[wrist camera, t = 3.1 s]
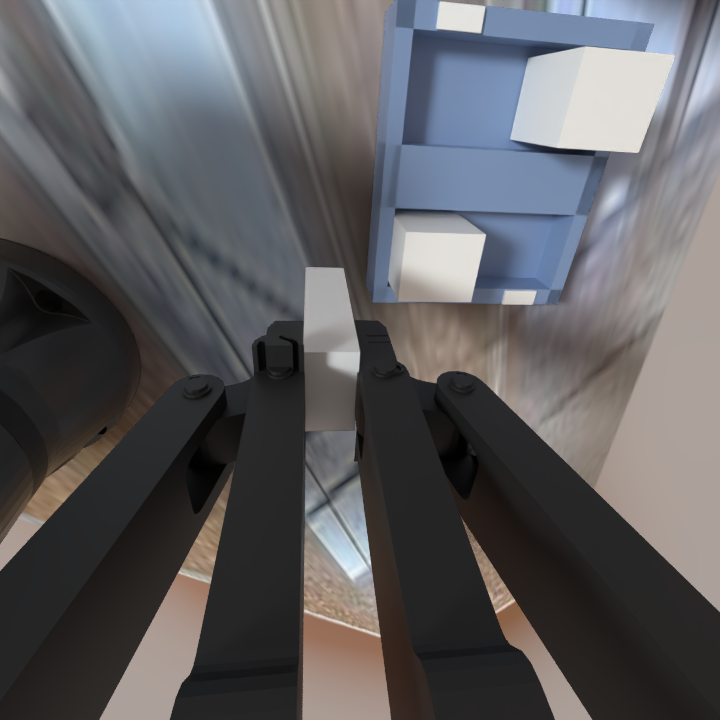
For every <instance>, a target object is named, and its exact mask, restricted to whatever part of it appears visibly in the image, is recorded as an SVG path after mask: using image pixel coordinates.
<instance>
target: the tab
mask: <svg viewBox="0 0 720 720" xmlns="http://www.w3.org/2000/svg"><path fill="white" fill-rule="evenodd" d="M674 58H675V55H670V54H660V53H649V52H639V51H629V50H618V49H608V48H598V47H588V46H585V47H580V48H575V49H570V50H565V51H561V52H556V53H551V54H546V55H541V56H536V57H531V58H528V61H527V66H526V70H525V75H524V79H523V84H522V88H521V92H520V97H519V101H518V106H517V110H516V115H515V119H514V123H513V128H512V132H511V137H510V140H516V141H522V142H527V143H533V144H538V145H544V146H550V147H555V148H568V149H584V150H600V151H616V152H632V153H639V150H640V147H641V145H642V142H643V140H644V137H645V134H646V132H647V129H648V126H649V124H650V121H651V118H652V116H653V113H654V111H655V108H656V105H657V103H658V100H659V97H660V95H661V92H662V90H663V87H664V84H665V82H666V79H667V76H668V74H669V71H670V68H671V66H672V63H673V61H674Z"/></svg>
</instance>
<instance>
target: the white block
mask: <svg viewBox="0 0 720 720" xmlns="http://www.w3.org/2000/svg"><path fill="white" fill-rule="evenodd" d="M485 237H486V234H485V233H483V232H482V231H481V230H479V229H478V228H476V227H475V226H474V225H472V224H471V223H470V222H468V221H467V220H466V219H464V218H463V217H461V216H460V215H459V214H457V213H456V212H452V211H427V210H402V209H395V216H394V225H393V235H392V245H391V255H390V265H389V274H388V281H389V283H390V286H391V288H392V290H393V292H394V294H395V296H396V299H397V301H398V302H471V300H472V296H473V291H474V287H475V282H476V278H477V273H478V269H479V264H480V260H481V255H482V251H483V246H484V242H485Z"/></svg>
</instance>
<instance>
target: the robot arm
mask: <svg viewBox="0 0 720 720" xmlns="http://www.w3.org/2000/svg"><path fill="white" fill-rule="evenodd" d="M252 352H253V363H254V376H253V377H252V378H251V379H249V380H247V381H245V382H242V383H239V384H235V385H230V386H224V383H223V381H222V380H221V379H219V378H218V377H216V376H212V375H193V376H188V377H186V378H183V379H181V380H179V381H177V382H176V383H175V384H173V385H172V386H171V387H170V388H169V389H168V390H167V391H166V392H165V393H164V395H163V396H162V397H161V398H160V399H159V400H158V401H157V402H156V403H155V404H154V405H153V406H152V408H151V409H150V410H149V411H148V412H147V413H146V414H145V415H144V416H143V417H142V418H141V419H140V420H139V422H138V423H137V424H136V425H135V426H134V427H133V428H132V429H131V430H130V431H129V432H128V433H127V435H126V436H125V437H124V438H123V439H122V440H121V441H120V442H119V443H118V444H117V445H116V446H115V448H114V449H113V450H112V451H111V452H110V453H109V454H108V455H107V456H106V457H105V458H104V459H103V460H102V462H101V463H100V464H99V465H98V466H97V467H96V468H95V469H94V470H93V471H92V472H91V473H90V475H89V476H88V477H87V478H86V479H85V480H84V481H83V482H82V483H81V484H80V485H79V486H78V488H77V489H76V490H75V491H74V492H73V493H72V494H71V495H70V496H69V497H68V498H67V499H66V501H65V502H64V503H63V504H62V505H61V506H60V507H59V508H58V509H57V510H56V511H55V512H54V513H53V515H52V516H51V517H50V518H49V519H48V520H47V521H46V522H45V523H44V524H43V525H42V526H41V528H40V529H39V530H38V531H37V532H36V533H35V534H34V535H33V536H32V537H31V538H30V539H29V541H28V542H27V543H26V544H25V545H24V546H23V547H22V548H21V549H20V550H19V551H18V552H17V553H16V555H15V556H14V557H13V558H12V559H11V560H10V561H9V562H8V563H7V564H6V565H5V567H4V568H3V569H2V570H1V571H0V720H99V719H100V717H101V715H102V713H103V711H104V710H105V708H106V706H107V704H108V702H109V700H110V699H111V697H112V695H113V693H114V691H115V689H116V687H117V685H118V684H119V682H120V680H121V678H122V676H123V674H124V672H125V670H126V669H127V667H128V665H129V663H130V661H131V659H132V657H133V656H134V653H135V652H136V650H137V648H138V646H139V644H140V642H141V641H142V639H143V637H144V635H145V633H146V631H147V629H148V627H149V626H150V624H151V622H152V620H153V618H154V616H155V614H156V613H157V611H158V609H159V607H160V605H161V603H162V601H163V600H164V597H165V596H166V594H167V592H168V590H169V588H170V586H171V585H172V583H173V581H174V579H175V577H176V575H177V573H178V572H179V570H180V568H181V566H182V564H183V562H184V560H185V558H186V557H187V555H188V553H189V551H190V549H191V547H192V545H193V543H194V542H195V540H196V538H197V536H198V534H199V532H200V530H201V529H202V527H203V525H204V523H205V521H206V519H207V517H208V515H209V514H210V512H211V510H212V508H213V506H214V504H215V502H216V501H217V499H218V497H219V495H220V493H221V491H222V489H223V487H224V486H225V484H226V482H227V480H228V478H229V476H230V474H231V473H232V471H233V469H234V465H235V469H234V473H233V478H232V483H231V488H230V493H229V498H228V503H227V507H226V512H225V517H224V522H223V527H222V532H221V537H220V541H219V546H218V551H217V556H216V561H215V566H214V571H213V575H212V580H211V585H210V590H209V595H208V600H207V605H206V609H205V615H204V619H203V624H202V629H201V634H200V639H199V644H198V648H197V653H196V658H195V661H194V666H193V668H192V671H191V673H190V675H189V676H188V677H187V678H186V679H185V681H184V682H183V683H182V685H181V687H180V689H179V691H178V694H177V696H176V699H175V703H174V706H173V710H172V714H171V718H170V720H302V698H303V697H302V696H303V695H302V694H303V615H304V529H305V431H346V430H355V420H356V427H357V431H356V445H355V458H354V461H358V464H359V472H360V480H361V488H362V495H363V503H364V511H365V519H366V526H367V534H368V542H369V550H370V557H371V565H372V573H373V581H374V588H375V596H376V604H377V612H378V619H379V627H380V635H381V642H382V650H383V658H384V666H385V674H386V681H387V689H388V697H389V705H390V713H391V720H555V719H554V716H553V713H552V711H551V708H550V706H549V704H548V701H547V698H546V696H545V693H544V691H543V688H542V686H541V683H540V681H539V679H538V677H537V675H536V672H535V670H534V668H533V666H532V664H531V662H530V661H529V660H528V659H527V657H526V656H525V655H524V653H523V652H522V651H521V650H519V649H517V648H515V647H513V646H512V645H510V644H509V643H508V641H507V640H506V639H505V637H504V634H503V632H502V630H501V628H500V625H499V622H498V619H497V616H496V614H495V611H494V608H493V605H492V602H491V600H490V597H489V594H488V591H487V589H486V586H485V583H484V580H483V577H482V575H481V572H480V569H479V566H478V564H477V561H476V558H475V555H474V553H473V550H472V547H471V544H470V541H469V539H468V536H467V533H466V530H465V528H464V525H463V522H462V519H463V520H464V522H465V523H466V525H467V526H468V528H469V529H470V531H471V532H472V534H473V536H474V537H475V539H476V540H477V542H478V543H479V545H480V546H481V548H482V550H483V551H484V553H485V554H486V556H487V557H488V559H489V560H490V562H491V563H492V565H493V567H494V568H495V570H496V571H497V573H498V574H499V576H500V577H501V579H502V580H503V582H504V584H505V585H506V587H507V588H508V590H509V591H510V593H511V594H512V596H513V597H514V599H515V601H516V602H517V604H518V605H519V607H520V608H521V610H522V611H523V613H524V615H525V616H526V618H527V619H528V621H529V622H530V624H531V625H532V627H533V628H534V630H535V631H536V633H537V635H538V636H539V638H540V639H541V641H542V642H543V644H544V645H545V647H546V649H547V650H548V652H549V653H550V655H551V656H552V658H553V659H554V661H555V662H556V664H557V666H558V667H559V669H560V670H561V672H562V673H563V675H564V676H565V678H566V679H567V681H568V683H569V684H570V685H571V687H572V689H573V690H574V692H575V693H576V695H577V696H578V698H579V700H580V701H581V703H582V704H583V706H584V707H585V709H586V710H587V712H588V714H589V715H590V717H591V718H592V720H720V612H719V611H718V610H717V609H716V608H715V607H714V606H713V605H712V604H711V603H710V602H709V601H708V600H707V599H706V598H705V597H703V596H702V594H701V593H699V592H698V591H697V590H696V589H695V588H694V587H693V586H692V585H691V584H690V583H689V582H688V581H687V580H686V579H685V578H684V577H683V576H682V575H681V574H680V573H679V572H678V571H677V570H676V569H675V568H674V567H673V566H672V565H671V564H670V563H668V561H667V560H665V559H664V557H662V556H661V555H660V554H659V553H658V552H657V551H656V550H655V549H654V548H653V547H652V546H651V545H650V544H649V543H648V542H647V541H646V540H645V539H644V538H643V537H642V536H641V535H640V534H639V533H638V532H637V531H636V530H635V529H634V528H633V527H632V526H631V525H630V524H629V523H628V522H626V521H625V520H624V519H623V518H622V517H621V516H620V515H619V514H618V513H617V512H616V511H615V510H614V509H613V508H612V507H611V506H610V505H609V504H608V503H607V502H606V501H605V500H604V499H603V498H602V497H601V496H600V495H599V494H598V493H597V492H596V491H595V490H594V489H593V488H592V487H591V486H590V485H589V484H587V483H586V482H585V481H584V480H583V479H582V478H581V477H580V476H579V475H578V474H577V473H576V472H575V471H574V470H573V469H572V468H571V467H570V466H569V465H568V464H567V463H566V462H565V461H564V460H563V459H562V458H561V457H560V456H559V455H558V454H557V453H556V452H555V451H554V450H553V449H552V448H550V447H549V446H548V445H547V444H546V443H545V442H544V441H543V440H542V439H541V438H540V437H539V436H538V435H537V434H536V433H535V432H534V431H533V430H532V429H531V428H530V427H529V426H528V425H527V424H526V423H525V422H524V421H523V420H522V419H521V418H520V417H519V416H518V415H517V414H516V413H515V412H514V411H512V410H511V409H510V408H509V407H508V406H507V405H506V404H505V403H504V402H503V401H502V400H501V399H500V398H499V397H498V396H497V395H496V394H495V393H494V392H493V391H492V390H491V389H490V388H489V387H488V386H487V385H486V384H485V383H484V382H483V381H481V380H480V379H479V378H477V377H476V376H473V375H471V374H468V373H465V372H460V371H451V372H446V373H443V374H441V375H440V376H439V377H438V379H437V384H436V383H430V382H425V381H421V380H417V379H414V378H412V377H410V375H409V372H408V370H407V369H406V367H405V366H404V365H402V364H401V363H399V362H397V359H396V356H395V353H394V350H393V347H392V344H391V341H390V338H389V337H388V332H387V329H386V327H385V326H383V325H382V324H381V323H380V322H379V321H364V320H354V319H353V314H352V309H351V304H350V299H349V294H348V289H347V284H346V279H345V274H344V269H343V268H323V267H306V273H305V305H304V321H275V322H274V323H273V324H271V325H270V326H269V327H268V330H267V335H265V336H262V337H260V338H258V339H257V340H255V341H254V343H253V344H252ZM140 371H141V367H140V356H139V352H138V348H137V345H136V342H135V339H134V337H133V334H132V332H131V330H130V328H129V327H128V325H127V323H126V322H125V320H124V318H123V317H122V316H121V314H120V313H119V311H118V310H117V309H116V308H115V306H114V305H113V304H112V303H111V302H110V301H109V300H108V298H107V297H106V296H105V295H104V294H103V293H102V292H101V291H99V290H98V289H97V288H96V287H95V286H94V285H93V284H91V283H90V282H89V281H88V280H86V279H85V278H84V277H82V276H81V275H80V274H78V273H77V272H75V271H74V270H72V269H71V268H69V267H68V266H66V265H64V264H63V263H61V262H59V261H57V260H55V259H53V258H51V257H49V256H47V255H45V254H43V253H41V252H38V251H36V250H34V249H31V248H28V247H26V246H23V245H20V244H17V243H13V242H10V241H6V240H2V239H0V543H1V542H2V541H3V539H4V538H5V536H6V535H7V533H8V532H9V530H10V529H11V527H12V526H13V525H14V523H15V521H16V520H17V519H18V517H19V516H20V514H21V513H22V511H23V510H24V509H25V507H26V506H27V504H28V502H29V501H30V499H31V498H32V497H33V495H34V494H35V492H36V491H37V490H38V488H39V487H40V485H41V484H42V482H43V481H44V480H45V479H46V478H47V477H48V476H50V475H51V474H52V473H54V472H55V471H57V470H58V469H59V468H61V467H62V466H63V465H65V464H66V463H67V462H68V461H70V460H71V459H72V458H74V457H75V456H76V455H77V454H78V453H79V452H80V451H81V450H82V449H83V448H85V447H87V446H89V445H91V444H93V443H94V442H96V441H97V440H99V439H100V438H102V437H103V436H104V435H105V434H107V433H108V432H109V431H110V430H111V429H112V428H113V427H114V426H115V425H116V424H117V422H118V421H119V420H120V419H121V417H122V416H123V414H124V412H125V411H126V409H127V407H128V406H129V404H130V402H131V401H132V399H133V397H134V395H135V393H136V391H137V388H138V385H139V380H140ZM235 462H236V464H235ZM460 515H461V516H460ZM461 517H462V519H461Z"/></svg>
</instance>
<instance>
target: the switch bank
mask: <svg viewBox="0 0 720 720" xmlns="http://www.w3.org/2000/svg"><path fill="white" fill-rule="evenodd" d="M653 27H654V24H650V23H641V22H632V21H622V20H613V19H603V18H594V17H585V16H575V15H566V14H557V13H547V12H538V11H529V10H519V9H510V8H501V7H491V6H482V5H473V4H463V3H454V2H445V1H435V0H395V1H394V2H393V3H392V4H391V5H390V7H389V8H388V9H387V10H386V14H385V28H384V41H383V55H382V69H381V83H380V97H379V111H378V125H377V139H376V152H375V166H374V180H373V194H372V208H371V222H370V236H369V250H368V263H367V277H366V284H367V287H368V290H369V293H370V296H371V299H372V302H373V303H470V304H511V305H533V304H558V301H559V298H560V295H561V292H562V290H563V287H564V284H565V281H566V278H567V275H568V272H569V269H570V266H571V264H572V261H573V258H574V255H575V252H576V249H577V246H578V243H579V240H580V238H581V235H582V232H583V229H584V226H585V223H586V220H587V217H588V214H589V212H590V209H591V206H592V203H593V200H594V197H595V194H596V191H597V188H598V186H599V183H600V180H601V177H602V174H603V171H604V168H605V165H606V162H607V160H608V157H609V154H610V151H600V150H584V149H568V148H555V147H550V146H544V145H538V144H533V143H527V142H522V141H516V140H510V137H511V132H512V128H513V123H514V119H515V115H516V110H517V106H518V101H519V97H520V92H521V88H522V84H523V79H524V75H525V70H526V66H527V61H528V58H531V57H536V56H541V55H546V54H551V53H556V52H561V51H565V50H570V49H575V48H580V47H585V46H588V47H598V48H608V49H618V50H629V51H639V52H645V50H646V47H647V44H648V41H649V38H650V35H651V33H652V30H653ZM395 209H402V210H427V211H452V212H456V213H457V214H459V215H460V216H461V217H463V218H464V219H466V220H467V221H468V222H470V223H471V224H472V225H474V226H475V227H476V228H478V229H479V230H481V231H482V232H483V233H485V234H486V237H485V242H484V246H483V251H482V255H481V260H480V264H479V269H478V273H477V278H476V282H475V287H474V291H473V296H472V300H471V302H398V301H397V299H396V296H395V294H394V292H393V290H392V288H391V286H390V283H389V281H388V274H389V265H390V255H391V245H392V235H393V225H394V216H395Z"/></svg>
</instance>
